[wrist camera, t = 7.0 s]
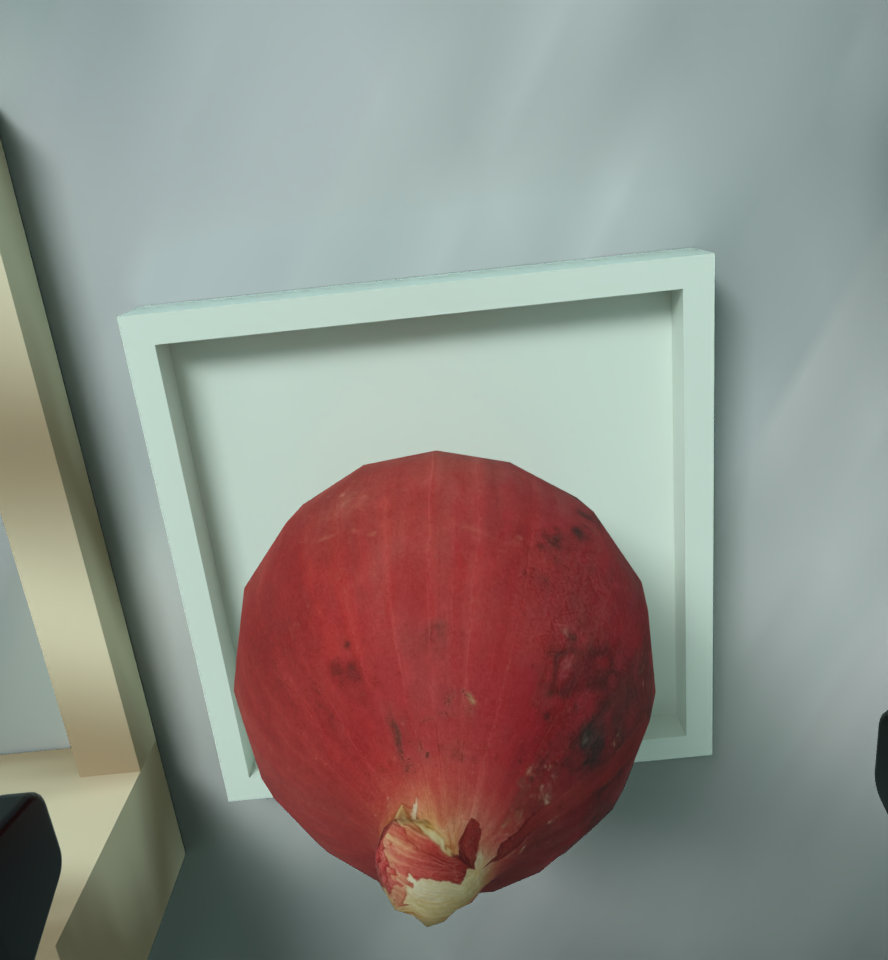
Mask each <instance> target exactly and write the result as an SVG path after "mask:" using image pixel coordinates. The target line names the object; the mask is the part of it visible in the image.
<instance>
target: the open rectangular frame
mask: <svg viewBox="0 0 888 960" xmlns="http://www.w3.org/2000/svg"><path fill="white" fill-rule="evenodd" d="M0 512H1V516H2V519H3V522H4V526H5V529H6V532H7V536H8V539H9V542H10V546H11V549H12V552H13V556H14V559H15V562H16V566H17V569H18V572H19V576H20V579H21V582H22V586H23V589H24V592H25V596H26V599H27V602H28V606H29V609H30V612H31V616H32V619H33V622H34V626H35V629H36V632H37V636H38V639H39V642H40V646H41V649H42V652H43V656H44V659H45V662H46V666H47V669H48V672H49V676H50V679H51V682H52V686H53V689H54V692H55V696H56V699H57V702H58V706H59V709H60V712H61V716H62V719H63V722H64V726H65V729H66V732H67V736H68V739H69V742H70V746H71V748H66V749H56V750H46V751H36V752H26V753H15V754H5V755H0V795H5V794H14V793H25V792H35V793H38V794H40V795H41V796H42V797H43V799H44V801H45V803H46V805H47V808H48V812H49V815H50V818H51V821H52V824H53V827H54V830H55V833H56V837H57V840H58V843H59V846H60V849H61V855H62V868H61V874H60V878H59V881H58V885H57V888H56V891H55V894H54V898H53V901H52V904H51V908H50V911H49V914H48V918H47V921H46V924H45V928H44V931H43V934H42V937H41V941H40V944H39V947H38V951H37V954H36V957H35V960H147V959H148V956H149V954H150V951H151V948H152V945H153V943H154V940H155V937H156V934H157V932H158V929H159V926H160V923H161V921H162V918H163V915H164V912H165V909H166V907H167V904H168V901H169V898H170V896H171V893H172V890H173V887H174V885H175V882H176V879H177V876H178V873H179V871H180V868H181V865H182V862H183V860H184V857H185V850H184V846H183V842H182V838H181V835H180V831H179V827H178V823H177V819H176V815H175V811H174V808H173V804H172V800H171V796H170V792H169V788H168V784H167V780H166V777H165V773H164V769H163V765H162V761H161V757H160V753H159V750H158V746H157V742H156V738H155V734H154V730H153V726H152V722H151V719H150V715H149V711H148V707H147V703H146V699H145V695H144V692H143V688H142V684H141V680H140V676H139V672H138V668H137V664H136V661H135V657H134V653H133V649H132V645H131V641H130V637H129V634H128V630H127V626H126V622H125V618H124V614H123V610H122V607H121V603H120V599H119V595H118V591H117V587H116V583H115V579H114V576H113V572H112V568H111V564H110V560H109V556H108V552H107V549H106V545H105V541H104V537H103V533H102V529H101V525H100V521H99V518H98V514H97V510H96V506H95V502H94V498H93V494H92V491H91V487H90V483H89V479H88V475H87V471H86V467H85V463H84V460H83V456H82V452H81V448H80V444H79V440H78V436H77V433H76V429H75V425H74V421H73V417H72V413H71V409H70V406H69V402H68V398H67V394H66V390H65V386H64V382H63V378H62V375H61V371H60V367H59V363H58V359H57V355H56V351H55V348H54V344H53V340H52V336H51V332H50V328H49V324H48V320H47V317H46V313H45V309H44V305H43V301H42V297H41V293H40V290H39V286H38V282H37V278H36V274H35V270H34V266H33V262H32V259H31V255H30V251H29V247H28V243H27V239H26V235H25V232H24V228H23V224H22V220H21V216H20V212H19V208H18V205H17V201H16V197H15V193H14V189H13V185H12V181H11V177H10V174H9V170H8V166H7V162H6V158H5V154H4V150H3V147H2V143H1V139H0Z"/></svg>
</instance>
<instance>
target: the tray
mask: <svg viewBox="0 0 888 960" xmlns="http://www.w3.org/2000/svg"><path fill="white" fill-rule="evenodd" d="M714 299H715V253H712V252H708V251H704V250H700V249H696V248H684V249H675V250H665V251H656V252H647V253H637V254H628V255H619V256H609V257H600V258H591V259H581V260H572V261H562V262H553V263H544V264H534V265H525V266H516V267H506V268H497V269H488V270H478V271H469V272H460V273H450V274H441V275H432V276H422V277H413V278H404V279H394V280H385V281H376V282H366V283H357V284H347V285H338V286H329V287H319V288H310V289H301V290H291V291H282V292H273V293H263V294H254V295H245V296H235V297H226V298H217V299H207V300H198V301H189V302H179V303H170V304H161V305H151V306H142V307H139V308H137V309H134V310H132V311H130V312H127V313H125V314H123V315H120V316H118V317H117V321H118V325H119V329H120V334H121V338H122V342H123V347H124V351H125V355H126V360H127V364H128V368H129V372H130V377H131V381H132V385H133V390H134V394H135V398H136V403H137V407H138V411H139V416H140V420H141V424H142V429H143V433H144V437H145V442H146V446H147V450H148V455H149V459H150V463H151V468H152V472H153V476H154V481H155V485H156V489H157V494H158V498H159V502H160V507H161V511H162V515H163V520H164V524H165V528H166V533H167V537H168V541H169V546H170V550H171V554H172V559H173V563H174V567H175V572H176V576H177V580H178V585H179V589H180V593H181V598H182V602H183V606H184V611H185V615H186V619H187V624H188V628H189V632H190V637H191V641H192V645H193V649H194V654H195V658H196V662H197V667H198V671H199V675H200V680H201V684H202V688H203V693H204V697H205V701H206V706H207V710H208V714H209V719H210V723H211V727H212V732H213V736H214V740H215V745H216V749H217V753H218V758H219V762H220V766H221V771H222V775H223V779H224V784H225V788H226V792H227V797H228V801H240V800H250V799H260V798H271V797H273V796H272V794H271V793H270V791H269V789H268V788H267V786H266V785H265V783H264V782H263V780H262V778H261V775H260V772H259V769H258V766H257V763H256V760H255V757H254V754H253V751H252V748H251V745H250V742H249V738H248V735H247V732H246V729H245V726H244V723H243V720H242V717H241V713H240V710H239V707H238V703H237V700H236V697H235V693H234V681H235V669H236V657H237V648H238V639H239V630H240V621H241V612H242V603H243V595H244V588H245V586H246V585H247V583H248V581H249V580H250V578H251V577H252V575H253V574H254V572H255V570H256V569H257V567H258V566H259V564H260V563H261V561H262V560H263V558H264V556H265V555H266V553H267V552H268V550H269V549H270V547H271V545H272V544H273V542H274V541H275V539H276V538H277V536H278V535H279V533H280V531H281V530H282V528H283V527H284V525H285V524H286V522H287V521H288V520H289V519H290V518H291V517H292V516H293V515H294V514H295V512H296V511H297V510H298V509H299V508H300V507H301V506H302V505H303V504H304V503H306V502H307V501H309V500H311V499H312V498H314V497H315V496H317V495H318V494H320V493H321V492H323V491H324V490H326V489H327V488H329V487H330V486H332V485H334V484H335V483H337V482H338V481H340V480H341V479H343V478H344V477H346V476H347V475H349V474H350V473H352V472H353V471H355V470H357V469H358V468H360V467H361V466H363V465H366V464H371V463H376V462H381V461H386V460H391V459H396V458H401V457H406V456H411V455H416V454H421V453H426V452H431V451H436V450H437V451H444V452H450V453H456V454H462V455H468V456H475V457H481V458H487V459H493V460H499V461H506V462H510V463H512V464H514V465H516V466H518V467H520V468H522V469H524V470H526V471H527V472H529V473H531V474H533V475H535V476H537V477H539V478H541V479H543V480H545V481H546V482H548V483H550V484H552V485H554V486H556V487H558V488H560V489H562V490H564V491H565V492H567V493H569V494H571V495H573V496H575V497H577V498H578V499H579V500H580V501H582V502H583V503H584V504H585V505H586V506H588V507H589V508H590V509H591V510H592V511H594V513H595V514H596V516H597V517H598V519H599V520H600V522H601V523H602V525H603V526H604V527H605V529H606V530H607V532H608V533H609V535H610V536H611V538H612V539H613V541H614V542H615V544H616V545H617V546H618V548H619V549H620V551H621V552H622V554H623V555H624V557H625V558H626V560H627V561H628V563H629V564H630V565H631V567H632V568H633V570H634V571H635V573H636V574H637V576H638V577H639V579H640V580H641V581H642V586H643V590H644V595H645V599H646V604H647V608H648V615H649V626H650V636H651V647H652V658H653V668H654V679H655V690H656V693H655V698H654V703H653V708H652V713H651V718H650V722H649V724H648V727H647V729H646V732H645V735H644V737H643V740H642V742H641V745H640V748H639V750H638V753H637V755H636V758H635V761H634V762H644V761H654V760H665V759H675V758H685V757H696V756H706V755H712V715H713V507H714Z"/></svg>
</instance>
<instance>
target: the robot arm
mask: <svg viewBox="0 0 888 960" xmlns="http://www.w3.org/2000/svg"><path fill="white" fill-rule="evenodd" d="M875 782H876V787H877V791H878V794H879V797H880V799H881V801H882V803H883V805H884V807H885V809H886V812H887V814H888V710H887V711H886V712H885V713H883V714H882V716H881V718H880V722H879V729H878V741H877V753H876V765H875ZM61 868H62V855H61V849H60V846H59V843H58V840H57V837H56V833H55V830H54V827H53V824H52V821H51V818H50V815H49V812H48V808H47V805H46V803H45V801H44V799H43V797H42V796H41V795H40V794H38V793H35V792H25V793H14V794H5V795H0V960H35V957H36V954H37V951H38V947H39V944H40V941H41V937H42V934H43V931H44V928H45V924H46V921H47V918H48V914H49V911H50V908H51V904H52V901H53V898H54V894H55V891H56V888H57V885H58V881H59V878H60V874H61Z"/></svg>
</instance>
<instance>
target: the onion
mask: <svg viewBox="0 0 888 960" xmlns="http://www.w3.org/2000/svg"><path fill="white" fill-rule="evenodd" d="M234 693H235V697H236V700H237V703H238V707H239V710H240V713H241V717H242V720H243V723H244V726H245V729H246V732H247V735H248V738H249V742H250V745H251V748H252V751H253V754H254V757H255V760H256V763H257V766H258V769H259V772H260V775H261V778H262V780H263V782H264V783H265V785H266V786H267V788H268V789H269V791H270V793H271V794H272V796H273V797H274V798H275V800H276V801H277V802H278V803H279V804H280V805H281V806H282V807H283V808H284V809H285V810H286V811H287V812H288V813H289V814H290V815H291V816H292V817H293V818H294V819H295V820H296V821H297V822H298V823H299V824H300V825H301V827H302V828H303V829H304V830H305V831H306V832H307V833H308V834H309V835H310V836H311V837H312V838H313V839H314V840H315V841H316V842H317V843H318V844H319V845H320V846H322V847H323V848H324V849H325V850H326V851H327V852H328V853H330V854H332V855H333V856H335V857H337V858H339V859H340V860H342V861H344V862H346V863H347V864H349V865H351V866H352V867H354V868H356V869H358V870H359V871H361V872H363V873H364V874H366V875H368V876H370V877H371V878H373V879H375V880H377V881H378V882H379V883H380V885H381V887H382V888H383V890H384V892H385V894H386V895H387V897H388V899H389V900H390V902H391V904H392V906H393V907H394V909H395V910H397V911H400V912H404V913H407V914H410V915H413V916H415V917H416V918H417V919H418V920H419V921H421V922H422V923H423V924H424V925H425V926H427V927H429V926H432V925H435V924H438V923H441V922H444V921H445V920H446V919H447V918H448V917H449V916H450V915H451V914H453V913H454V912H455V911H456V910H457V909H459V908H461V907H463V906H465V905H467V904H470V903H472V901H473V900H474V899H475V898H476V896H477V895H478V894H479V893H483V892H494V891H496V890H498V889H501V888H503V887H506V886H508V885H510V884H513V883H515V882H517V881H520V880H522V879H525V878H527V877H529V876H532V875H534V874H536V873H539V872H540V871H542V870H543V869H544V868H545V867H546V866H548V865H549V864H550V863H551V862H552V861H554V860H555V859H556V858H557V857H559V856H560V855H562V854H564V853H565V852H567V851H568V850H569V849H570V848H571V847H572V846H573V845H574V844H576V843H577V842H578V841H579V840H580V839H581V838H582V837H583V836H585V835H586V834H587V833H588V832H589V831H590V830H591V829H592V828H594V827H595V826H596V825H597V824H598V823H599V822H600V821H601V820H602V819H603V818H604V817H605V816H606V815H607V814H608V813H609V812H610V811H611V810H612V809H613V807H614V805H615V804H616V802H617V800H618V798H619V796H620V794H621V793H622V791H623V789H624V787H625V784H626V781H627V779H628V776H629V774H630V771H631V768H632V766H633V763H634V761H635V758H636V755H637V753H638V750H639V748H640V745H641V742H642V740H643V737H644V735H645V732H646V729H647V727H648V724H649V722H650V718H651V713H652V708H653V703H654V698H655V693H656V690H655V679H654V668H653V658H652V647H651V636H650V626H649V615H648V608H647V604H646V599H645V595H644V590H643V586H642V581H641V580H640V579H639V577H638V576H637V574H636V573H635V571H634V570H633V568H632V567H631V565H630V564H629V563H628V561H627V560H626V558H625V557H624V555H623V554H622V552H621V551H620V549H619V548H618V546H617V545H616V544H615V542H614V541H613V539H612V538H611V536H610V535H609V533H608V532H607V530H606V529H605V527H604V526H603V525H602V523H601V522H600V520H599V519H598V517H597V516H596V514H595V513H594V511H592V510H591V509H590V508H589V507H588V506H586V505H585V504H584V503H583V502H582V501H580V500H579V499H578V498H577V497H575V496H573V495H571V494H569V493H567V492H565V491H564V490H562V489H560V488H558V487H556V486H554V485H552V484H550V483H548V482H546V481H545V480H543V479H541V478H539V477H537V476H535V475H533V474H531V473H529V472H527V471H526V470H524V469H522V468H520V467H518V466H516V465H514V464H512V463H510V462H506V461H499V460H493V459H487V458H481V457H475V456H468V455H462V454H456V453H450V452H444V451H437V450H436V451H431V452H426V453H421V454H416V455H411V456H406V457H401V458H396V459H391V460H386V461H381V462H376V463H371V464H366V465H363V466H361V467H360V468H358V469H357V470H355V471H353V472H352V473H350V474H349V475H347V476H346V477H344V478H343V479H341V480H340V481H338V482H337V483H335V484H334V485H332V486H330V487H329V488H327V489H326V490H324V491H323V492H321V493H320V494H318V495H317V496H315V497H314V498H312V499H311V500H309V501H307V502H306V503H304V504H303V505H302V506H301V507H300V508H299V509H298V510H297V511H296V512H295V514H294V515H293V516H292V517H291V518H290V519H289V520H288V521H287V522H286V524H285V525H284V527H283V528H282V530H281V531H280V533H279V535H278V536H277V538H276V539H275V541H274V542H273V544H272V545H271V547H270V549H269V550H268V552H267V553H266V555H265V556H264V558H263V560H262V561H261V563H260V564H259V566H258V567H257V569H256V570H255V572H254V574H253V575H252V577H251V578H250V580H249V581H248V583H247V585H246V586H245V588H244V595H243V603H242V612H241V621H240V630H239V639H238V648H237V657H236V669H235V681H234Z"/></svg>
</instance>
